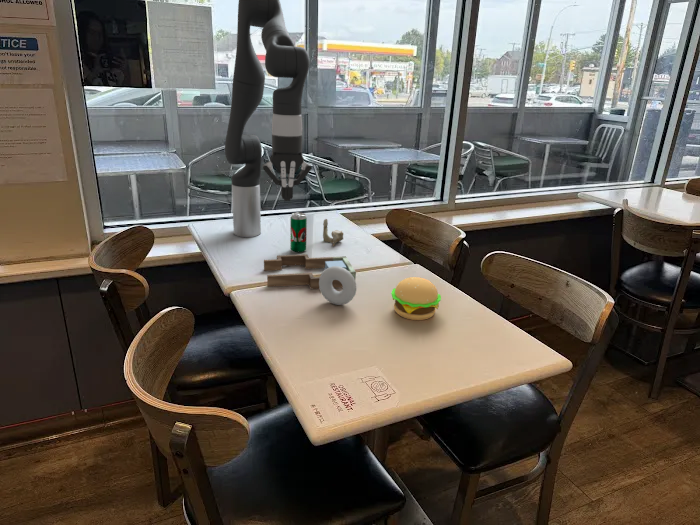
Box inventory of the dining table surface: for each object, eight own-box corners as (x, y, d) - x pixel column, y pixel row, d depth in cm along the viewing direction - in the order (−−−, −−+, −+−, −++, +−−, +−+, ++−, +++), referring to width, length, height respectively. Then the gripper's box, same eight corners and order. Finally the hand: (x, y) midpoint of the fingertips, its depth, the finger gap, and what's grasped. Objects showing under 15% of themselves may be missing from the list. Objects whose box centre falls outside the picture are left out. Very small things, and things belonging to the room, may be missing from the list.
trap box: (263, 265, 144) (263, 256, 143) (343, 262, 150) (343, 252, 149) (268, 291, 128) (268, 281, 127) (358, 286, 134) (358, 276, 133)
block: (324, 272, 142) (325, 261, 141) (341, 271, 144) (342, 260, 142) (328, 279, 138) (329, 268, 137) (345, 278, 139) (346, 267, 138)
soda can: (307, 248, 160) (308, 212, 155) (304, 253, 155) (305, 217, 151) (292, 247, 160) (292, 211, 156) (288, 252, 156) (288, 215, 151)
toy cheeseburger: (381, 304, 125) (384, 273, 121) (423, 298, 129) (426, 268, 126) (404, 326, 114) (407, 292, 111) (448, 319, 119) (452, 286, 116)
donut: (357, 305, 123) (359, 268, 120) (351, 311, 120) (354, 273, 117) (322, 296, 127) (323, 260, 123) (315, 302, 124) (316, 265, 120)
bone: (352, 241, 164) (338, 217, 159) (337, 252, 162) (323, 229, 158) (340, 235, 171) (327, 212, 166) (326, 246, 170) (312, 223, 165)
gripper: (310, 131, 128) (309, 196, 135) (259, 130, 125) (260, 197, 132) (315, 135, 122) (314, 203, 128) (261, 134, 119) (262, 204, 125)
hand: (286, 200), depth 130 cm, fingers closed
